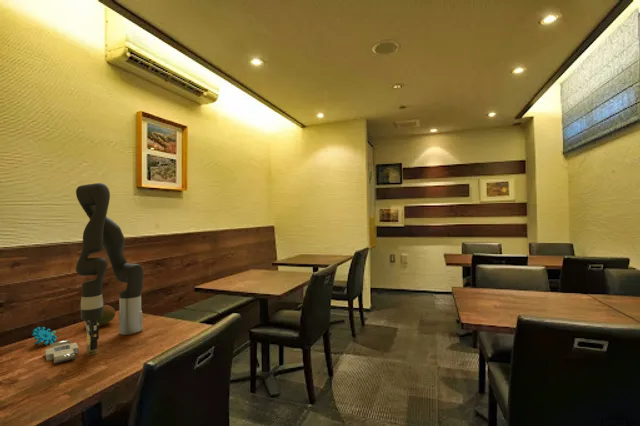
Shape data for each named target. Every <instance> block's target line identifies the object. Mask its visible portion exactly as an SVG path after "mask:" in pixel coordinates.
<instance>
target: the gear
mask: <svg viewBox="0 0 640 426" xmlns="http://www.w3.org/2000/svg"><path fill="white" fill-rule="evenodd" d="M32 332H33V333H31V335H32V336H33V338H34V340H35V341H36V342H35V343H34V345H35V344H37V345H38V344H42V343H43V344H44V345H46V346H47V345H48V344H49V345H50V344H51V343H56V342H57V335H56V332H57V331H56V330H53V331H51V329H50V328H47V329H46V327H45V326H42V327H41V326H37V327H36V328H34V329H33V330H32Z"/></svg>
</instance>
